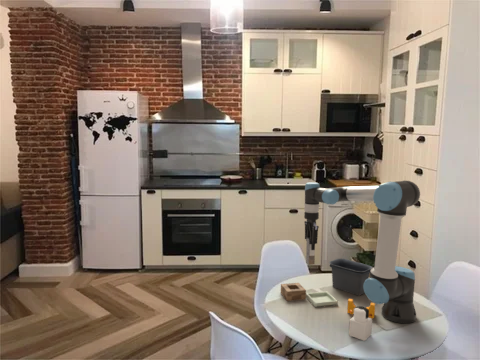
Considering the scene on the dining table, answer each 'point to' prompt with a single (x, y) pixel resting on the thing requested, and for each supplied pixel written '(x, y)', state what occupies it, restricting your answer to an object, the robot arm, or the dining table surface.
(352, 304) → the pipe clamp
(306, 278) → the dining table surface
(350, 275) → the storage bin
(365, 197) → the robot arm
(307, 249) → the grey wooden beam
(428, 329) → the dining table surface
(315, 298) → the tray
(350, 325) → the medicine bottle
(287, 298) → the hollow wooden square
